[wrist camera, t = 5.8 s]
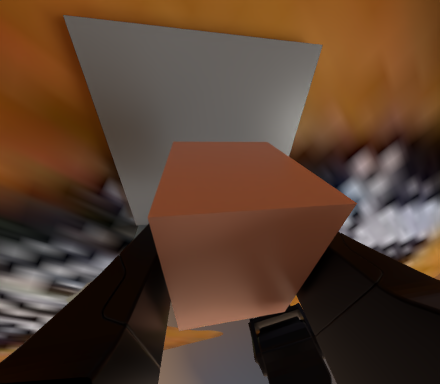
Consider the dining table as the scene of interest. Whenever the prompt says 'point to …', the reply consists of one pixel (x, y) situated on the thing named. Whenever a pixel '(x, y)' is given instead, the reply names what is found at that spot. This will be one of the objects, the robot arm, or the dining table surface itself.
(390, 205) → the dining table surface
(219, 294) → the terracotta brick
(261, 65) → the base plate
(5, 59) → the dining table surface
